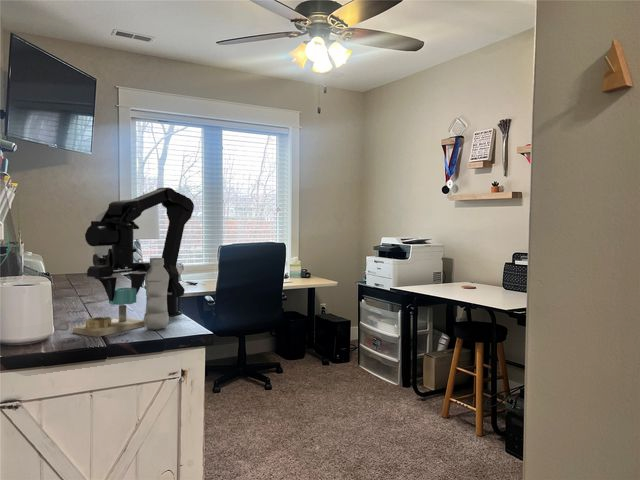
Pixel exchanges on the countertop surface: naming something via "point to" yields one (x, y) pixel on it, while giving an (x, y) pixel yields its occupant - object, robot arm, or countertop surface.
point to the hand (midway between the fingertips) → (122, 299)
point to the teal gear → (124, 296)
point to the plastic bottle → (156, 295)
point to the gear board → (110, 329)
